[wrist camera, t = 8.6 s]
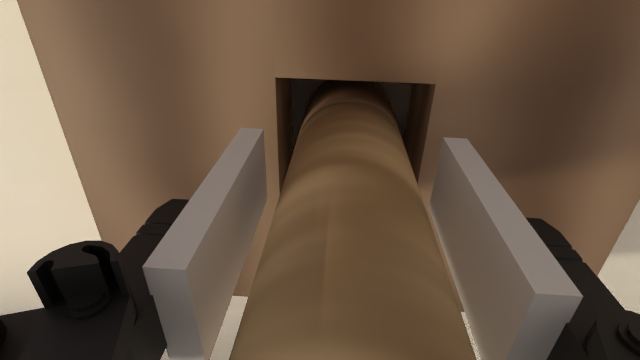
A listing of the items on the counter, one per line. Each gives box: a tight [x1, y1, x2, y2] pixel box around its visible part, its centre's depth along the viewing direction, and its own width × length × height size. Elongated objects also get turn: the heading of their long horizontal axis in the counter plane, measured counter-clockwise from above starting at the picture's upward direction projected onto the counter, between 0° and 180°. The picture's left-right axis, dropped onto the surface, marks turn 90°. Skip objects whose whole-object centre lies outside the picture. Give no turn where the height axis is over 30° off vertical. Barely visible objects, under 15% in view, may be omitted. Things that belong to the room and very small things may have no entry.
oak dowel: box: [229, 80, 476, 360], centre depth 11 cm, size 4×4×14 cm
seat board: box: [17, 0, 640, 312], centre depth 15 cm, size 22×16×4 cm
